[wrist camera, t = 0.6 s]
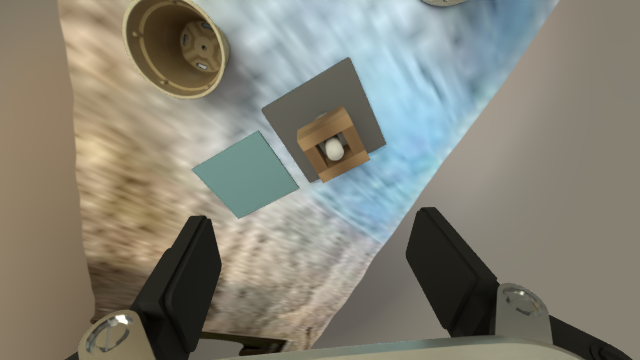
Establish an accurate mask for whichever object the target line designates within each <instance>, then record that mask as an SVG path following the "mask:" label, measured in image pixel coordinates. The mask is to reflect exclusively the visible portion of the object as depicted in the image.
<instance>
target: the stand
mask: <svg viewBox="0 0 640 360" xmlns="http://www.w3.org/2000/svg"><path fill="white" fill-rule="evenodd" d="M341 105H343V107H344V108H345V110H346V111H347V113H348V115H349V117H350V119H351V121H352V123H353V125H354V127H355V129H356V131H357V133H358V136H359V138H360V140H361V142H362V144H363V146H364V148H365V150H366V152H367V154H368V153H370V152H372V151H374V150H376V149H378V148H380V147H382V146H384V145H386V142H385V140H384V137H383V135H382V133H381V130H380V128H379V126H378V123H377V121H376V118H375V116H374V114H373V111H372V109H371V107H370V104H369V102H368V100H367V97H366V95H365V92H364V90H363V88H362V85H361V83H360V81H359V78H358V76H357V74H356V71H355V69H354V66H353V64H352V62H351V59H350V58H349V57H347V58H345V59H344V60H342V61H340V62H339V63H337V64H335V65H334V66H332V67H330V68H329V69H327V70H325V71H324V72H322V73H320V74H319V75H317V76H315V77H314V78H312V79H310V80H309V81H307V82H305V83H304V84H302V85H300V86H299V87H297V88H295V89H294V90H292V91H290V92H289V93H287V94H285V95H284V96H282V97H280V98H279V99H277V100H275V101H274V102H272V103H270V104H269V105H267V106H265V107H264V108H262V110H261V111H262V112H263V114H264V115H265V117H266V118H267V120H268V121H269V123H270V124H271V126H272V127H273V129H274V130H275V132H276V133H277V135H278V136H279V138H280V139H281V141H282V142H283V144H284V145H285V147H286V148H287V150H288V151H289V153H290V154H291V156H292V157H293V159H294V160H295V162H296V163H297V165H298V166H299V168H300V169H301V170H302V172H303V173H304V175H305V176H306V178H307V179H308V181H309V182H310V183H311V182H313V181H315V180H317V179H319V178H320V177H319V175H318V174H317V172H316V171H315V169H314V167H313V166H312V164H311V163H310V161H309V160H308V158H307V156H306V155H305V153H304V152H303V150H302V149H301V147H300V145H299V144H298V142H297V130H298V129H300V128H302V127H304V126H306V125H307V124H309V123H311V122H313V121H314V120H316V119H318V118H320V117H322V116H323V115H325V114H327V113H329V112H331V111H332V110H334V109H336V108H338V107H339V106H341ZM347 144H348V142H347V141H346V139H345V137H344V135H343V133H342V131H341V132H339V133H337V134H335V135H334V136H332V137H330V138H328V139H326V140H324V141H322V142H321V143H319V146H320V148H321V149H322V151H323V153H324V154H325V156H326V155H327V156H328V158H329V159H331V160H339V159H341V158H342V156H343V154H344V150H343V148H342V147H343V146H345V145H347Z"/></svg>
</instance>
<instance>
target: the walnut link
mask: <svg viewBox="0 0 640 360" xmlns="http://www.w3.org/2000/svg"><path fill="white" fill-rule="evenodd" d="M341 131H342V133H343V135H344V137H345V139H346V141H347V142H348V144H347V145H345V146H343V147H342V148H343V150H344V154H343V156H342V158H341V159H339V160H331V159H329V158H328V156H327V155H326V156H325V154H324V153H323V151H322V149H321V148H320V146H319V143H321V142H322V141H324V140H326V139H328V138H330V137H332V136H334V135H335V134H337V133H339V132H341ZM297 142H298V144H299V145H300V147H301V149H302V150H303V152H304V153H305V155H306V156H307V158H308V160H309V161H310V163H311V164H312V166H313V167H314V169H315V171H316V172H317V174H318V175H319V177H320V178H321V180H322V182H323V183H325V182H327V181H329V180H331V179H333V178H335V177H337V176H339V175H341V174H343V173H345V172H346V171H348V170H350V169H352V168H354V167H356V166H358V165H360V164H362V163H364V162H366V161H368V160H370V158H369V156H368V154H367V152H366V150H365V148H364V146H363V144H362V142H361V140H360V138H359V136H358V133H357V131H356V129H355V127H354V125H353V123H352V121H351V119H350V117H349V115H348V113H347V111H346V110H345V108H344V107H343V105H341V106H339V107H338V108H336V109H334V110H332V111H331V112H329V113H327V114H325V115H323V116H322V117H320V118H318V119H316V120H314V121H313V122H311V123H309V124H307V125H306V126H304V127H302V128H300V129H298V130H297Z"/></svg>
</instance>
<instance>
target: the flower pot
mask: <svg viewBox="0 0 640 360" xmlns="http://www.w3.org/2000/svg"><path fill="white" fill-rule="evenodd" d="M202 23H207V24H209V25H210V26H211V27H212V30H211V29H209V28H206V27H204V26H202ZM122 34H123V41H124V45H125V49H126V51H127V54H128V56H129V58H130V60H131V62H132V64H133V65H134V67H135V68H136V70H137V71H138V72H139V74H140V75H141V76H142V77H143V78H144V79H145V80H146V81H147V82H148V83H149V84H151V85H152V86H153V87H154V88H156V89H157V90H159V91H161V92H163V93H165V94H167V95H169V96H172V97H176V98H180V99H196V98H200V97H203V96H205V95H207V94H209V93H210V92H212V91H213V90H214V89H215V88H216V87H217V85H218V84H219V82H220V81H221V78H222V76H223V73H224V70H225V66H226V64H227V62H228V60H229V45H228V42H227V39H226V37H225V35H224V34H223V32H222V31H221V30H220V28H219V27H218V26H216V25H215V24H214V23H213V21H212V20H211V19H210V17H209V16H208V15H207V14H206V13H205V12H204V11H203V10H202V9H201V8H200V7H199V6H198V5H196V4H195V3H194V2H192V1H191V0H133V1H132V2H131V3H130V5H129V6H128V8H127V9H126V12H125V14H124V18H123V22H122ZM185 35H187V40H188V41H186V44H184V36H185ZM202 46H205V49H202ZM221 58H222V59H221ZM197 63H200V64H202V65H205V66H207V69H203V68H201V67H199V66H198V65H197Z"/></svg>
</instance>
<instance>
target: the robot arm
mask: <svg viewBox="0 0 640 360" xmlns="http://www.w3.org/2000/svg"><path fill="white" fill-rule="evenodd" d="M422 1H424V2H426V3H428V4H430V5H434V6H451V5H456V4H459V3H461V2H464V1H466V0H422ZM406 259H407V261H408V263H409V265H410V267H411V268H412V270H413V272H414V274H415V276H416V277H417V280H418V282H419V283H420V285H421V287H422V289H423V291H424V293H425V295H426V297H427V299H428V301H429V302H430V305H431V306H432V308H433V310H434V312H435V314H436V316H437V318H438V320H439V322H440V324H441V325H442V327H443V328H444V329H447V331H448V332H449V334H450V336H451V338H440V339H428V340H416V341H405V342H393V343H381V344H370V345H359V346H348V347H338V348H326V349H315V350H304V351H294V352H284V353H273V354H263V355H253V356H243V357H234V358H224V359H217V360H632V359H631V358H630V357H629V356H627V355H626V354H624V353H623V352H622V351H620V350H618V349H617V348H615V347H613V346H612V345H610V344H607V343H606V342H604V341H602V340H600V339H598V338H595V337H593V336H591V335H589V334H587V333H585V332H583V331H581V330H579V329H577V328H575V327H573V326H571V325H569V324H567V323H565V322H563V321H561V320H559V319H557V318H555V317H553V316H551V315H549V314H548V310H547V307H546V306H545V304H544V303H543V301H542V300H541V299H540V298H538V296H536V295H535V294H534V293H532V292H531V291H529V290H528V289H526V288H524V287H522V286H519V285H516V284H512V283H504V284H501V285H500V284H499V283H498V282H497V277H496V276H495V275H494V274H493V273H492V272H491V271H490V269H489V268H488V267H487V266H486V265H485V264H484V263H483V262H482V260H481V259H480V258H479V257H478V256H477V255H476V253H475V252H474V251H473V250H472V249H471V248H470V246H469V245H468V244H467V243H466V242H465V241H464V240H463V239H462V237H461V236H460V235H459V234H458V233H457V232H456V230H455V229H454V228H453V227H452V226H451V225H450V223H449V222H448V221H447V220H446V219H445V218H444V217H443V216H442V214H441V213H440V212H439V211H438V210H437V209H436V208H435V207H424V208H421V209H420V211H417V213H416V217H415V221H414V224H413V228H412V231H411V235H410V239H409V242H408V246H407V250H406ZM221 266H222V263H221V259H220V254H219V250H218V246H217V242H216V238H215V234H214V230H213V226H212V222H211V219H207V217H206V216H190V217H189V219H188V220H187V222H186V224H185V225H184V227H183V229H182V230H181V232H180V234H179V235H178V237H177V239H176V240H175V242H174V244H173V245H172V247H171V248H169V249H167V250H166V251H165V252H164V254H163V255H162V257H161V259H160V260H159V262H158V264H157V265H156V267H155V268H154V270H153V272H152V273H151V275H150V276H149V278H148V280H147V281H146V283H145V285H144V286H143V288H142V289H141V291H140V293H139V294H138V296H137V297H136V299H135V301H134V302H133V304H132V306H131V307H130V309H129V310H122V311H118V312H114V313H112V314H110V315H107V316H105V317H104V318H102V319H101V320H99V321H98V322H96V323H95V324H94V325H93V326H92V327H91V328H90V329H89V330H88V331H87V332H86V334H85V335H84V336H83V337H82V339H81V342H80V344H79V348H78V352H76V353H75V354H73V355H72V356H70V357H68V358H67V359H65V360H188V358H189V354H190V352H193V351H194V350H195V349H196V347H197V344H198V341H199V337H200V334H201V331H202V328H203V325H204V322H205V319H206V316H207V312H208V309H209V306H210V303H211V300H212V297H213V294H214V291H215V287H216V284H217V281H218V278H219V275H220V272H221ZM464 336H465V337H464Z"/></svg>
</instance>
